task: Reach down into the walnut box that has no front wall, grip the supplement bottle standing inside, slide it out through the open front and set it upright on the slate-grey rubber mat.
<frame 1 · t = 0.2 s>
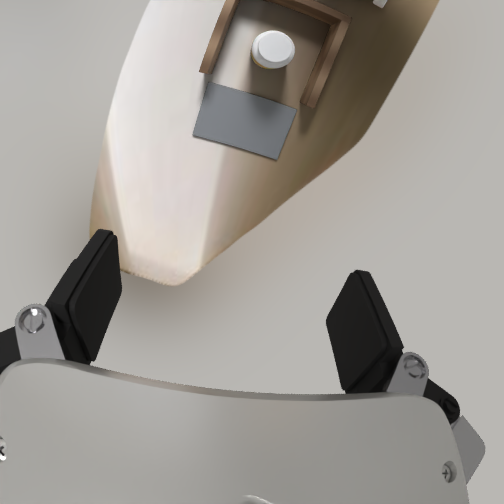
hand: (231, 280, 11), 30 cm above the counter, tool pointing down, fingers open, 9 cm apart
supplement bottle: (269, 53, 30), on the counter
slate mat: (244, 120, 35), on the counter
open front box: (271, 46, 29), on the counter
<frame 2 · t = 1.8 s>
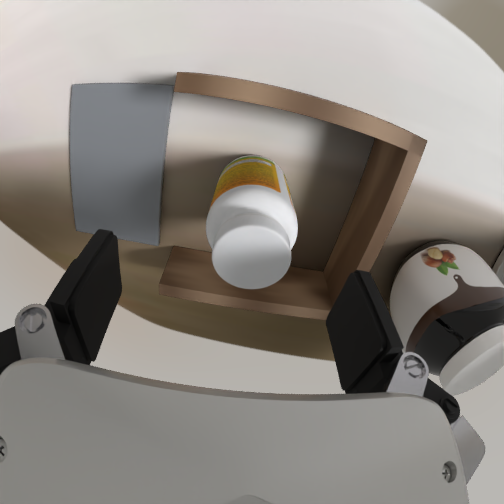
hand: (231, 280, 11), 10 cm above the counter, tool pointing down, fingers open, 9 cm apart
supplement bottle: (252, 185, 19), on the counter
slate mat: (114, 165, 18), on the counter
spread jar: (414, 285, 25), on the counter
open front box: (266, 189, 19), on the counter
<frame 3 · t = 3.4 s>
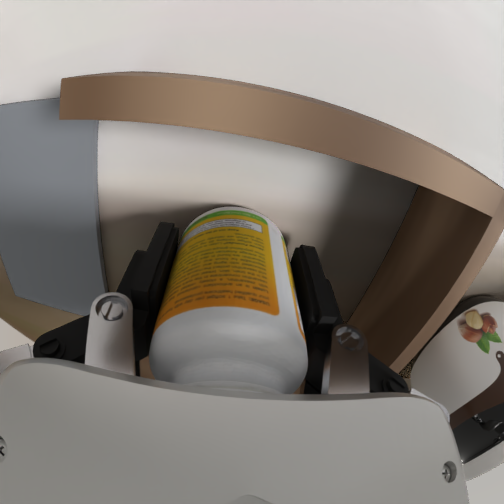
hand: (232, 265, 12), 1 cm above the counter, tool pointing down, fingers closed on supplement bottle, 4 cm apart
supplement bottle: (232, 248, 13), on the counter, touching gripper
slate mat: (38, 220, 11), on the counter
spread jar: (438, 343, 19), on the counter
open front box: (255, 255, 13), on the counter
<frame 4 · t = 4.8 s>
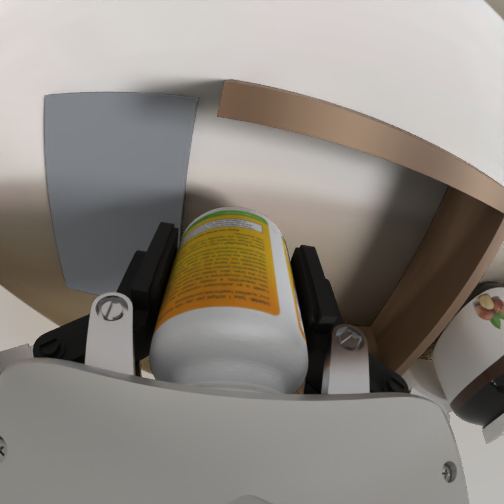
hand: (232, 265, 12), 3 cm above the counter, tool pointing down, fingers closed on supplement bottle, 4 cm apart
supplement bottle: (233, 248, 13), point 2 cm above the counter, touching gripper
slate mat: (111, 210, 13), on the counter
spread jar: (454, 326, 21), on the counter
open front box: (321, 244, 15), on the counter
when the fingers open (2 cm above the counter, at t = 6.6 s): supplement bottle stays where it is, resting on slate mat.
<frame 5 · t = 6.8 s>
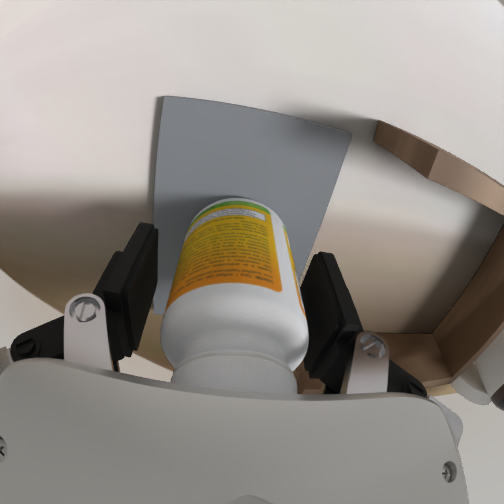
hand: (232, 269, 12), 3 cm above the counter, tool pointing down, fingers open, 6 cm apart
supplement bottle: (237, 238, 14), resting on slate mat
slate mat: (233, 235, 14), on the counter
spread jar: (489, 329, 21), on the counter
open front box: (416, 267, 15), on the counter
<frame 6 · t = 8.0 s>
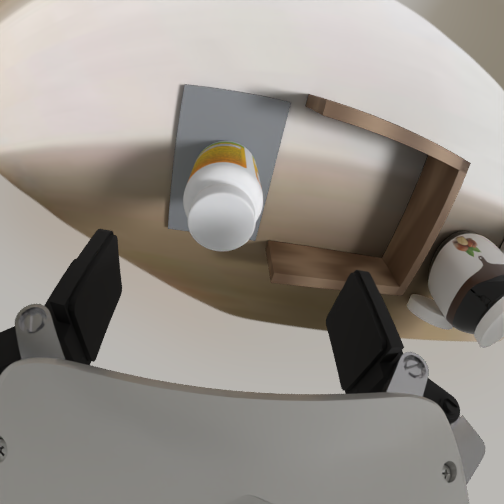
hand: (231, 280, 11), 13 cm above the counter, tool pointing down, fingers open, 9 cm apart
supplement bottle: (225, 168, 21), resting on slate mat
slate mat: (223, 166, 21), on the counter
spread jar: (442, 267, 29), on the counter
open front box: (352, 193, 23), on the counter
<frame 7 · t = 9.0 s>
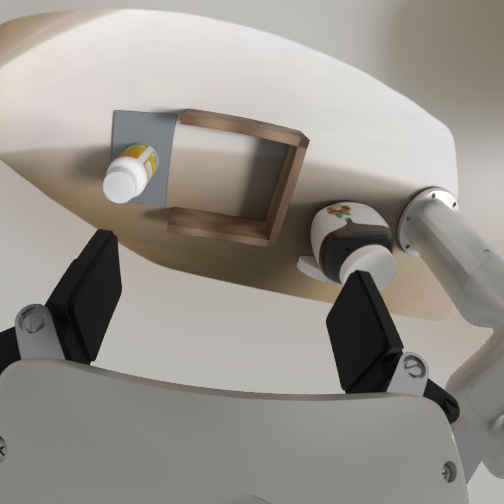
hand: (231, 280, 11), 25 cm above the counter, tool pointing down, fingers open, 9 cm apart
supplement bottle: (141, 159, 32), resting on slate mat
slate mat: (140, 159, 32), on the counter
spread jar: (332, 233, 41), on the counter
open front box: (227, 171, 34), on the counter
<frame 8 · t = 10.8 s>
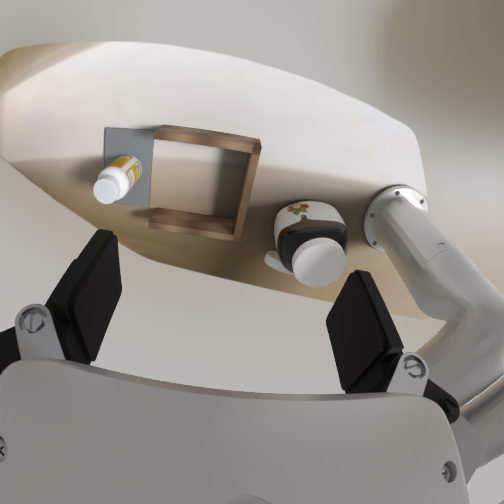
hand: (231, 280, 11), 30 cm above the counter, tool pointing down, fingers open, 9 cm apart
supplement bottle: (128, 168, 38), resting on slate mat
slate mat: (127, 167, 38), on the counter
spread jar: (298, 230, 45), on the counter
open front box: (199, 176, 40), on the counter
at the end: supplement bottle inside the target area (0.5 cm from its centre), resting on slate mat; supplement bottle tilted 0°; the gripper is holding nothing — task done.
